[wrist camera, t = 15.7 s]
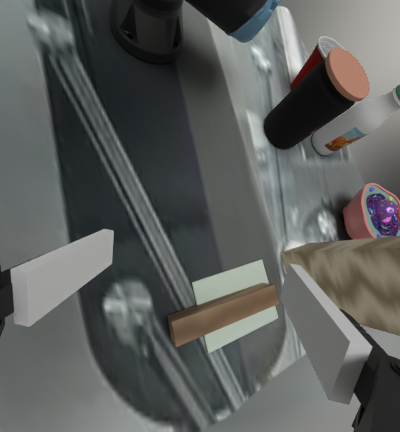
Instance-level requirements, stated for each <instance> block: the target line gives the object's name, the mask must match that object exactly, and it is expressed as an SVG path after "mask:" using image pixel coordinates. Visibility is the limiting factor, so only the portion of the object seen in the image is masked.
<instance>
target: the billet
mask: <svg viewBox="0 0 400 432" xmlns="http://www.w3.org/2000/svg"><path fill="white" fill-rule="evenodd" d="M278 304H279V301H278V297H277V293H276V289H275V285H273V284H267V283H260V284H257V285H254V286H251V287H248V288H245V289H243V290H240V291H237V292H234V293H231V294H228V295H225V296H222V297H220V298H217V299H214V300H211V301H208V302H205V303H202V304H200V305H197V306H194V307H191V308H188V309H185V310H182V311H179V312H177V313H174V314H171V315H168V316H167V318H168V323H169V329H170V335H171V339H172V341H173V342H174V344H175V346H176V347H178V346H180V345H183V344H185V343H187V342H190V341H192V340H194V339H197V338H199V337H202V336H204V335H206V334H209V333H211V332H213V331H216V330H218V329H221V328H223V327H225V326H228V325H230V324H232V323H235V322H237V321H240V320H242V319H244V318H247V317H249V316H251V315H254V314H256V313H259V312H261V311H263V310H266V309H268V308H270V307H273V306H275V305H278Z"/></svg>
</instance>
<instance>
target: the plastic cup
mask: <svg viewBox="0 0 400 432" xmlns="http://www.w3.org/2000/svg"><path fill="white" fill-rule="evenodd" d="M334 48H342V49H344V48H343V47H342V46H341V45H340V44H339V43H338V42H336V41H335V40H334V39H332V38H330V37H327V36H322V37H320V38H319V40H318V43H317V46H316V48H315V49H314V51H313V53H312V55H311V56H310V57H309V59H308V60H307V62H306V63H305V65H304V66H303V67H302V69H301V70H300V72H299V74H298V75H297V77H296V78H295V79H294V81H293V82H292V84H291V91H292V90H293V89H294V88H295V87H296V86H297V85H298V84H299V83H300V82H301V81H302V80H303V79H304V77H305V76H306V75H307V74H308V73H309V72H310V71H311V70H312V69H313V68H314V67H315V66H316V65H317V64H318V63H320V62H321V61H323V60H325V59H326V57H327V55H328V53H329V52H330V51H331V50H333V49H334ZM344 50H345V49H344Z"/></svg>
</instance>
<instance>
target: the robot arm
mask: <svg viewBox="0 0 400 432" xmlns="http://www.w3.org/2000/svg"><path fill="white" fill-rule="evenodd" d="M185 1H187V2H188V3H189V4H191V5H192V6H193V7H194V8H196V9H197V10H198V11H199V12H200V13H202V14H203V15H204V16H205V17H207V18H208V19H209V20H210V21H212V22H213V23H214V24H215V25H217V26H218V27H219V28H220V29H222V30H223V31H224V32H225V33H226V34H227V35H229V36H232V37H234V38H235V39H237V40H238V41H240V42H242V43H246V42H249V41H250V40H252V39H253V38H254V37H255V36H256V35H257V34H258V32H259V31H260V30H261V29H262V28H263V26H264V25H265V24H266V22H267V21H268V19H269V18H270V16H271V15H272V14H273V11H274V9H275V8H276V7H277V5H278V4H279V3H280V1H281V0H185ZM182 4H183V0H112V2H111V6H110V22H111V29H112V32H113V34H114V36H115V38H116V39H117V41H118V42H119V43H120V44H121V46H122V47H123V48H124V49H126V50H127V51H128V52H129V53H131V54H132V55H134V56H135V57H137V58H139V59H141V60H144V61H146V62H150V63H155V64H165V63H169V62H172V61H173V60H175V59H176V58H177V57H178V55H179V53H180V50H181V46H182V42H183V20H182ZM113 236H114V231H113V230H107V229H103V230H101V231H98V232H96V233H94V234H91V235H89V236H87V237H84V238H82V239H80V240H77V241H75V242H73V243H70V244H68V245H66V246H63V247H61V248H59V249H56V250H54V251H52V252H49V253H47V254H43V255H40V256H38V257H36V258H34V259H31V260H29V261H27V262H24V263H22V264H19V265H17V266H14V267H12V268H10V269H7V270H5V271H3V272H1V267H0V336H1V334H2V331H3V328H4V326H5V317H7V316H8V315H10V314H11V313H13V315H14V324H18V325H22V326H26V327H30V326H31V325H33V324H34V323H35V322H37V321H38V320H39V319H40V318H42V317H43V316H44V315H46V314H47V313H48V312H50V311H51V310H52V309H54V308H55V307H56V306H57V305H59V304H60V303H61V302H63V301H64V300H65V299H67V298H68V297H69V296H70V295H72V294H73V293H74V292H76V291H77V290H78V289H80V288H81V287H82V286H83V285H85V284H86V283H87V282H89V281H90V280H91V279H93V278H94V277H95V276H97V275H98V274H99V273H100V272H102V271H103V270H104V269H106V268H107V267H108V266H110V265H111V264H112V254H113ZM280 299H281V301H282V303H283V305H284V307H285V309H286V311H287V313H288V315H289V318H290V320H291V322H292V324H293V326H294V328H295V330H296V332H297V334H298V336H299V339H300V341H301V343H302V345H303V347H304V349H305V351H306V353H307V355H308V358H309V360H310V362H311V364H312V366H313V368H314V370H315V372H316V374H317V376H318V379H319V380H320V383H321V385H322V387H323V389H324V391H325V393H326V395H327V397H328V399H329V400H332V401H336V402H340V403H344V404H349V403H350V401H351V398H352V395H353V393H355V395H356V396H357V398H358V400H359V401H360V403H361V405H360V408H359V410H358V412H357V415H356V417H355V419H354V422H353V424H352V427H353V428H354V432H400V360H399V359H397V358H395V357H392V356H388V355H387V354H386V352H385V351H384V350H383V349H382V348H381V347H380V346H379V345H378V344H377V343H376V342H375V341H374V340H373V338H372V337H371V336H370V335H369V334H368V333H366V331H365V330H364V329H363V328H362V327H361V326H360V324H359V323H358V322H357V321H356V320H355V319H354V318H353V317H352V316H351V315H349V314H348V313H347V312H345V311H344V310H342V309H339V308H338V307H337V306H336V305H335V304H334V303H333V302H332V301H331V299H330V298H329V297H328V296H327V295H326V294H325V293H324V292H323V290H322V289H321V288H320V287H319V286H318V285H317V284H316V282H315V281H314V280H313V279H312V278H311V277H310V276H309V275H308V273H307V272H306V271H305V270H304V269H303V268H302V267H301V266H300V265H295V264H290V263H289V266H288V270H287V274H286V277H285V281H284V285H283V288H282V292H281V296H280Z"/></svg>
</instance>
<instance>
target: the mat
mask: <svg viewBox="0 0 400 432" xmlns="http://www.w3.org/2000/svg"><path fill="white" fill-rule="evenodd" d="M191 283H192V288H193V292H194V296H195V301H196V305H200V304H202V303H205V302H208V301H211V300H214V299H217V298H220V297H222V296H225V295H228V294H231V293H234V292H237V291H240V290H243V289H245V288H248V287H251V286H254V285H257V284H260V283H267V284H269V283H268V279H267V276H266V272H265V268H264V265H263V261H262V260H261V259H260V260H257V261H254V262H251V263H248V264H245V265H242V266H239V267H236V268H233V269H230V270H227V271H224V272H221V273H218V274H215V275H212V276H209V277H206V278H203V279H200V280H197V281H194V282H191ZM277 318H278V315H277V311H276V308H275V306H273V307H270V308H268V309H266V310H263V311H261V312H259V313H256V314H254V315H251V316H249V317H247V318H244V319H242V320H240V321H237V322H235V323H232V324H230V325H228V326H225V327H223V328H221V329H218V330H216V331H213V332H211V333H209V334H206V335H204V340H205V344H206V349H207V352H208V353H210V352H212V351H214V350H216V349H218V348H220V347H222V346H224V345H226V344H228V343H230V342H232V341H234V340H236V339H238V338H240V337H242V336H244V335H246V334H248V333H250V332H252V331H254V330H256V329H258V328H259V327H261V326H263V325H265V324H267V323H269V322H271V321H273V320H275V319H277Z"/></svg>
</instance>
